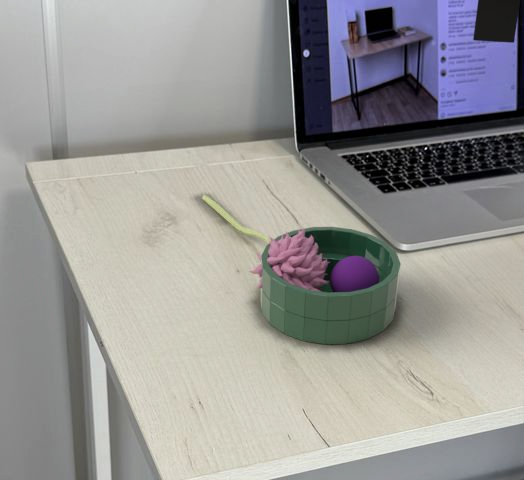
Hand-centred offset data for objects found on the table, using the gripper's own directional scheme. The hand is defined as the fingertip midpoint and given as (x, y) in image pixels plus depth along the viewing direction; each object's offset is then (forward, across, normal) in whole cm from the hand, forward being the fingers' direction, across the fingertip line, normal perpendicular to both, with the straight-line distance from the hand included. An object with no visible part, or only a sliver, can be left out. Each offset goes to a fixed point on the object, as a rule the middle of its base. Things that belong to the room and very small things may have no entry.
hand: (495, 13), depth 65 cm
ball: (+20, +8, -8) cm, 23 cm away
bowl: (+23, +8, -10) cm, 26 cm away
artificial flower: (+23, +1, -19) cm, 29 cm away
